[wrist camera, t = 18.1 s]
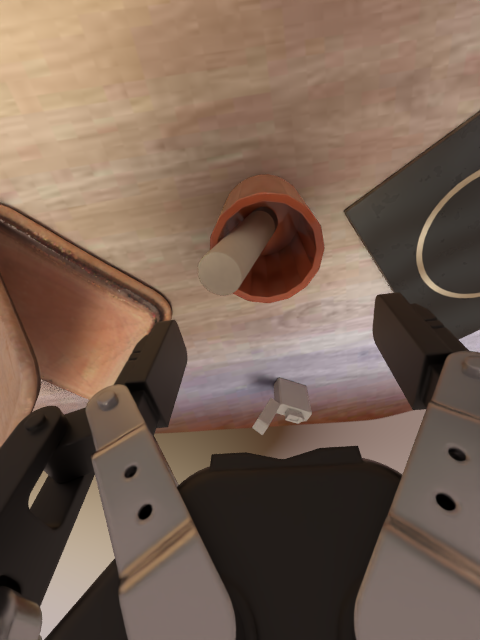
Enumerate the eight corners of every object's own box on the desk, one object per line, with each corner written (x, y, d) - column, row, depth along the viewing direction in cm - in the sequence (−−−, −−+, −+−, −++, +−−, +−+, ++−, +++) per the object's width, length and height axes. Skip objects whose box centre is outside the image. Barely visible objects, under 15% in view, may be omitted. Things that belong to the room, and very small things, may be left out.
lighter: (307, 386, 38) (318, 441, 31) (301, 394, 39) (310, 449, 32) (257, 370, 37) (257, 423, 30) (252, 379, 38) (251, 433, 31)
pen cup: (206, 213, 26) (186, 245, 19) (271, 153, 23) (278, 163, 16) (256, 271, 29) (256, 320, 22) (319, 224, 26) (345, 261, 19)
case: (-23, 182, 26) (-325, 236, 12) (183, 302, 32) (130, 428, 18) (-46, 332, 35) (-230, 454, 22) (115, 402, 41) (48, 533, 28)
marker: (243, 218, 26) (188, 268, 16) (266, 200, 25) (220, 242, 15) (260, 242, 27) (217, 303, 17) (283, 225, 25) (251, 281, 16)
